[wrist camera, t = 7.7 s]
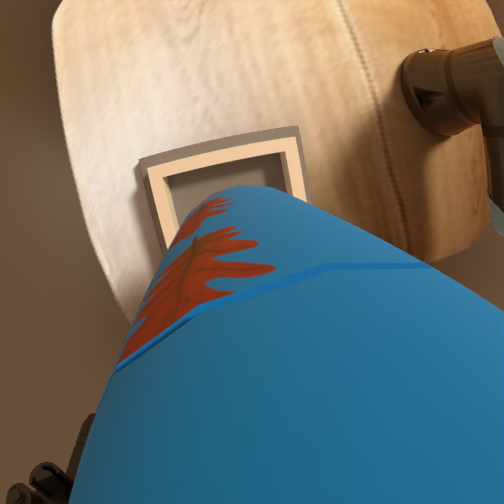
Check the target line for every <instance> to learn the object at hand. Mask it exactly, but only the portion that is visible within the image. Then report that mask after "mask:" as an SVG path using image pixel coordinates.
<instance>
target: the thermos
mask: <svg viewBox="0 0 504 504" xmlns="http://www.w3.org/2000/svg"><path fill="white" fill-rule="evenodd" d="M68 504H504V312H503V311H501V310H500V309H498V308H497V307H496V306H494V305H492V304H491V303H489V302H488V301H486V300H485V299H483V298H482V297H480V296H478V295H477V294H475V293H474V292H472V291H471V290H469V289H467V288H466V287H464V286H463V285H461V284H459V283H458V282H456V281H454V280H453V279H451V278H449V277H448V276H446V275H444V274H443V273H441V272H439V271H438V270H436V269H434V268H432V267H431V266H429V265H427V264H426V263H424V262H422V261H420V260H418V259H417V258H415V257H413V256H411V255H410V254H408V253H406V252H404V251H402V250H400V249H399V248H397V247H395V246H393V245H391V244H389V243H387V242H386V241H384V240H382V239H380V238H378V237H376V236H374V235H372V234H370V233H368V232H366V231H364V230H362V229H360V228H359V227H357V226H355V225H353V224H351V223H349V222H347V221H344V220H342V219H340V218H338V217H336V216H334V215H332V214H330V213H328V212H326V211H324V210H322V209H320V208H318V207H315V206H313V205H311V204H309V203H307V202H305V201H303V200H300V199H298V198H296V197H294V196H291V195H289V194H287V193H285V192H282V191H280V190H278V189H275V188H271V187H264V186H245V185H237V186H234V187H231V188H228V189H225V190H222V191H219V192H216V193H213V194H212V195H211V196H209V197H208V198H207V199H206V200H204V201H203V202H202V203H201V204H199V205H198V206H197V207H196V208H194V209H193V210H192V211H191V212H190V213H189V215H188V216H187V217H186V218H185V220H184V222H183V223H182V225H181V227H180V228H179V230H178V232H177V234H176V235H175V237H174V239H173V241H172V242H171V244H170V246H169V248H168V250H167V252H166V254H165V256H164V258H163V260H162V262H161V264H160V266H159V268H158V270H157V272H156V274H155V276H154V278H153V280H152V282H151V284H150V286H149V288H148V290H147V292H146V294H145V296H144V299H143V301H142V303H141V305H140V307H139V309H138V311H137V314H136V316H135V318H134V320H133V322H132V325H131V327H130V329H129V331H128V334H127V336H126V338H125V341H124V343H123V345H122V348H121V350H120V352H119V355H118V357H117V360H116V362H115V364H114V367H113V369H112V372H111V374H110V377H109V379H108V382H107V384H106V387H105V390H104V392H103V395H102V398H101V400H100V403H99V406H98V408H97V411H96V414H95V417H94V421H93V423H92V426H91V428H90V431H89V434H88V437H87V440H86V443H85V447H84V450H83V453H82V456H81V459H80V463H79V466H78V470H77V473H76V477H75V480H74V484H73V488H72V491H71V495H70V499H69V503H68Z"/></svg>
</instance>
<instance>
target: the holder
mask: <svg viewBox="0 0 504 504" xmlns="http://www.w3.org/2000/svg"><path fill="white" fill-rule="evenodd" d="M139 163H140V168H141V172H142V177H143V181H144V185H145V189H146V193H147V198H148V202H149V206H150V209H151V213H152V217H153V221H154V225H155V228H156V232H157V236H158V239H159V243H160V246H161V250H162V253H163V257H164V256H165V254H166V252H167V250H168V248H169V246H170V244H171V242H172V241H173V239H174V237H175V235H176V234H177V232H178V230H179V228H180V227H181V225H182V223H183V222H184V220H185V218H186V217H187V216H188V215H189V213H190V212H191V211H192V210H193V209H194V208H196V207H197V206H198V205H199V204H201V203H202V202H203V201H204V200H206V199H207V198H208V197H209V196H211V195H212V194H213V193H216V192H219V191H222V190H225V189H228V188H231V187H234V186H237V185H245V186H264V187H271V188H275V189H278V190H280V191H282V192H285V193H287V194H289V195H291V196H294V197H296V198H298V199H300V200H303V201H305V202H307V203H309V204H311V205H312V202H311V196H310V189H309V183H308V177H307V171H306V165H305V159H304V154H303V148H302V143H301V138H300V133H299V127H298V126H290V127H283V128H276V129H270V130H263V131H257V132H252V133H246V134H241V135H235V136H230V137H225V138H220V139H216V140H211V141H206V142H202V143H198V144H194V145H189V146H185V147H181V148H177V149H173V150H170V151H166V152H162V153H159V154H155V155H152V156H148V157H145V158H141V159H139Z"/></svg>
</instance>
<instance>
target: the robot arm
mask: <svg viewBox="0 0 504 504" xmlns="http://www.w3.org/2000/svg"><path fill="white" fill-rule="evenodd" d="M401 83H402V89H403V93H404V96H405V99H406V102H407V104H408V106H409V108H410V110H411V112H412V113H413V115H414V116H415V118H416V119H417V120H418V121H419V123H420V124H421V125H422V126H423V127H425V128H426V129H427V130H428V131H430V132H432V133H434V134H436V135H441V136H452V135H457V134H459V133H461V132H462V131H464V130H465V129H468V128H470V127H472V126H474V125H476V124H481V128H482V134H483V142H484V150H485V159H486V169H487V197H488V204H489V217H490V221H491V223H492V224H493V226H494V227H495V228H496V230H497V231H498V232H499V233H500V234H501V235H503V236H504V37H494V38H493V39H490V40H486V41H482V42H478V43H475V44H471V45H468V46H465V47H461V48H458V49H455V50H452V51H450V50H440V49H421V50H419V51H416V52H414V53H412V54H410V55H409V56H408V57H407V58H406V59H405V61H404V63H403V66H402V71H401ZM95 414H96V413H93V414H90V415H89V416H88V418H87V419H86V420H85V421H84V423H83V425H82V427H81V430H80V433H79V436H78V438H77V441H76V445H75V447H74V450H73V453H72V456H71V459H70V462H69V465H68V468H67V471H66V474H65V473H64V472H63V471H62V470H61V469H60V468H58V467H57V466H56V465H55V464H53V463H50V462H44V463H40V464H39V465H37V466H36V467H35V468H34V469H33V470H32V472H31V474H30V477H29V484H30V485H31V486H32V487H33V488H35V489H36V490H37V491H33V490H31V489H30V488H29V487H28V486H26V485H25V484H23V483H17V484H14V485H13V486H12V487H11V488H10V489H9V491H8V493H7V498H6V504H68V503H69V499H70V495H71V491H72V488H73V484H74V480H75V477H76V473H77V470H78V466H79V463H80V459H81V456H82V453H83V450H84V447H85V443H86V440H87V437H88V434H89V431H90V428H91V426H92V423H93V421H94V417H95Z"/></svg>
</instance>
